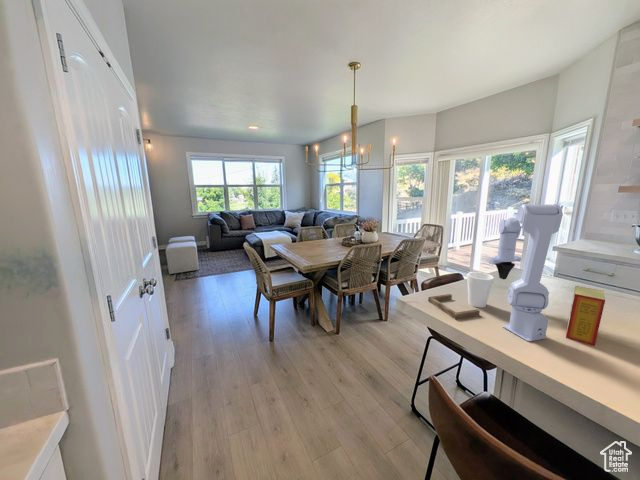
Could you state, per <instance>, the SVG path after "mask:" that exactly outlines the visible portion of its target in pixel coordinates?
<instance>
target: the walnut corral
mask: <svg viewBox="0 0 640 480" xmlns="http://www.w3.org/2000/svg"><path fill="white" fill-rule="evenodd" d="M427 298H428V302H429V303H430V304H431V305H433V306H435V307H436V308H438V309H439V310H441V311H442V312H443V313H445V314H447V315H448V316H450V317H451V318H452V319H454V320H459V319H465V318H471V317H477V316H480V313H481V312H480V311H481V310H479V309H470V310H463V311H457V312H456V311H454V310H453V309H451V308H449V306H446V305H445V304H443V303H442V302H441V301H448V300H453V299H452V298H453V295H452V294H451V293H449V294H442V295H441V294H440V295H433V296H428V297H427Z"/></svg>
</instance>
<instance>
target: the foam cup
mask: <svg viewBox="0 0 640 480" xmlns="http://www.w3.org/2000/svg"><path fill="white" fill-rule="evenodd" d="M494 280H495V278H494V276H493V275H491V274H489V273H487V272H486V273H485V272H480V271H470V272H467V273H466V281H467V302H468V304H469V305H470V306H471V307H475V308H485V307H486V306H487V303H488V299H489V296H490V293H491V290H492V286H493V284H494Z"/></svg>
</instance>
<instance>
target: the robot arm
mask: <svg viewBox="0 0 640 480" xmlns="http://www.w3.org/2000/svg"><path fill="white" fill-rule="evenodd" d="M562 220H563V210H562V207H561V206H560V204H557V203H554V204H526V203H522V204H521V205H520V206H519V207H518V208H517V212H514V213H513V215H510V217H508V218H507V219H504V218H503V219H500V221H499V223H498V231H499V234H500V235H499V242H498V250H497V255H495V257H493V258H489V259H488V264H491V265H495V266H496V269H497V271H498V278H499V279H501V280H507V278H508V276H509V274H510V272H511V271H512V270H513V268H515V265H516V264H515V263H514V262H517V263H518V262H522V261H521V260H522V257H521V256H517V255H515V253H516V247H517V241H518V238H519V236H520V233H521V230H522V231H523V232H525V233H528V234H529V235H530V236H529V241H528V246H527V250H526V254H525V259H524V265H523V269H522V274H521V276H520V278H519V279H517V280H515V281H512V282H511V284H510V286H509V288H508V289H507V292H506V299H507V302H508V304H509V305H510V306H511V309H510V311H511V312H510V318H509V323H508V324H504V325H502V328H504V329H505V330H507V331H509V332H511V333H513V334H514V335H516V336H518V337H520V338H522V339H523V340H525V341H527V342H532V341H534V342H535V341H538V340H543V339H547V338H548V337H547V335H546V334H547V330H548V325H549V319H548V317H547V316H546V315H545V314H542V312H543V310H545V309H546V308H547V307H548V305H549V294H550V292H549V290H548V288H547V286H545V285H544V284H543V283H541V280H542V275H543V271H544V267H545V264H546V259H547V256H548V251H549V248H550V243H551V240H552V236H553V235H554V234H555V233H558V232H559V230H560V228H561V224H562Z"/></svg>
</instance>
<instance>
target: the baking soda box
mask: <svg viewBox="0 0 640 480" xmlns="http://www.w3.org/2000/svg"><path fill="white" fill-rule="evenodd" d="M605 304H606V297H605V292H604V290H600V289H595V288H590V287H585V286H579V285H575V286H574V291H573V296H572V301H571V307H570V311H569V316H568V321H567V327H566V333H565V335H566V336H565V339H569V340H572V341H575V342H579V343H583V344H585V345H589V346H593V347H595V346H596V341H597V339H598V333H599V328H600V325H601V320H602V316H603V312H604V308H605Z"/></svg>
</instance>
